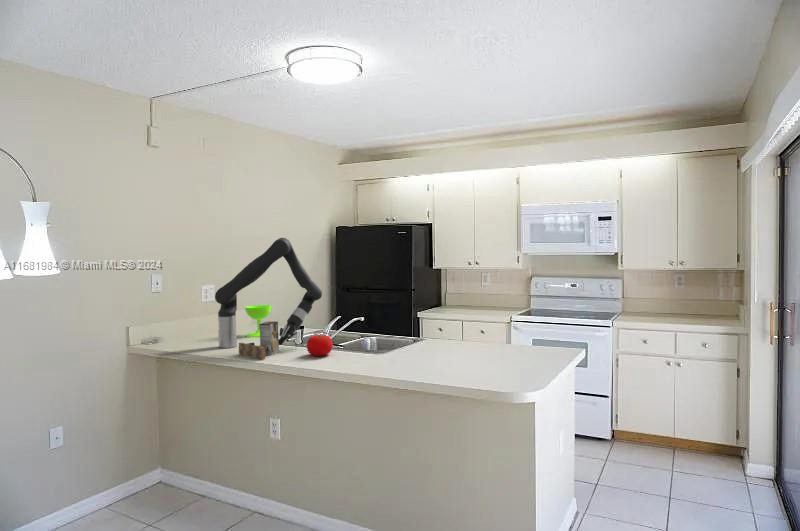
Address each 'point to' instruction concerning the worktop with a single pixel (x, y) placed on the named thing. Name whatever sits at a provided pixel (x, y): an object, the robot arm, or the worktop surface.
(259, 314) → the wineglass
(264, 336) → the coffee box
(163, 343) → the worktop surface
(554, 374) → the worktop surface
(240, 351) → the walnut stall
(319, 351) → the tomato
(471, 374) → the worktop surface
